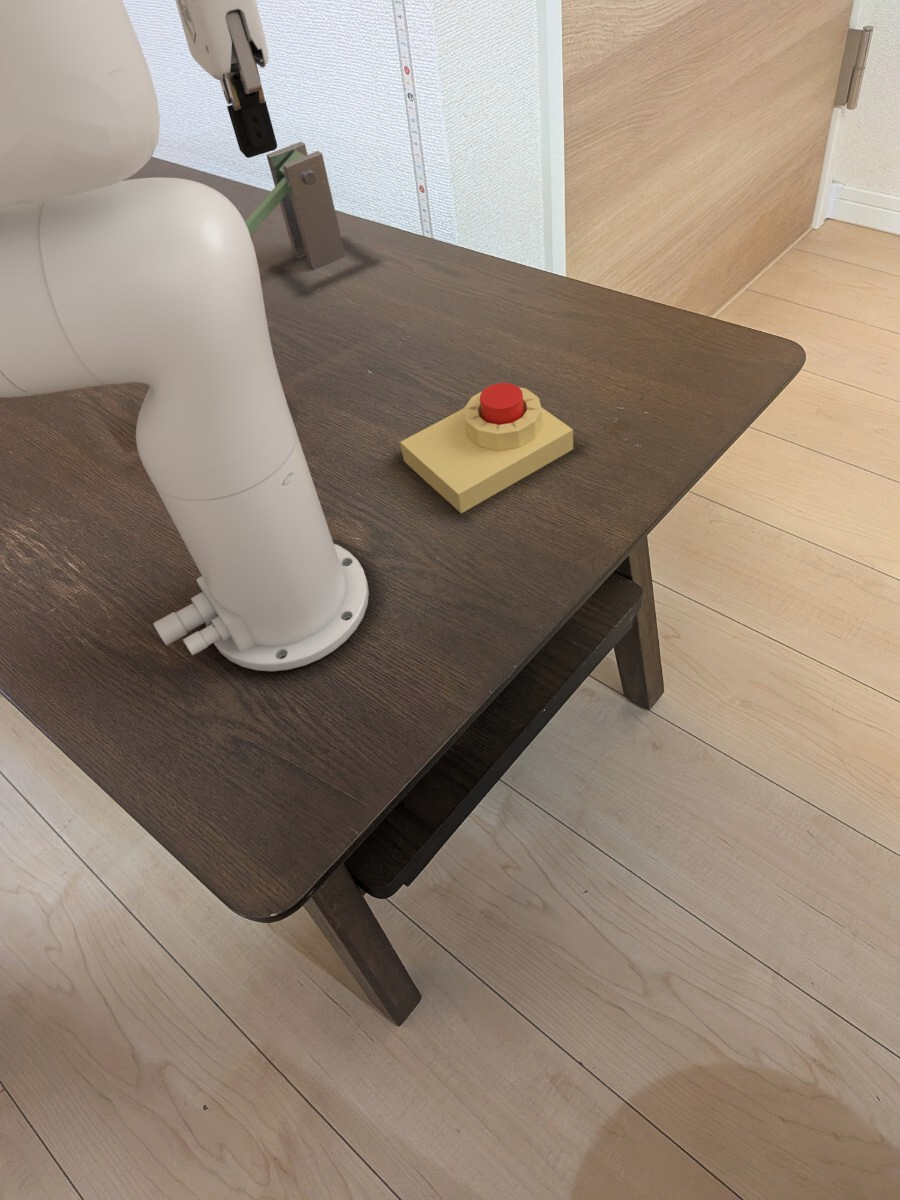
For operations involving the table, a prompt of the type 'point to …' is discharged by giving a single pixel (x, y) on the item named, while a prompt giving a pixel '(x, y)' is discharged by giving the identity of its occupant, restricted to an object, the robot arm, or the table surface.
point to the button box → (485, 451)
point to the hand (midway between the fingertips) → (259, 150)
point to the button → (501, 403)
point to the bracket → (308, 206)
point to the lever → (270, 200)
